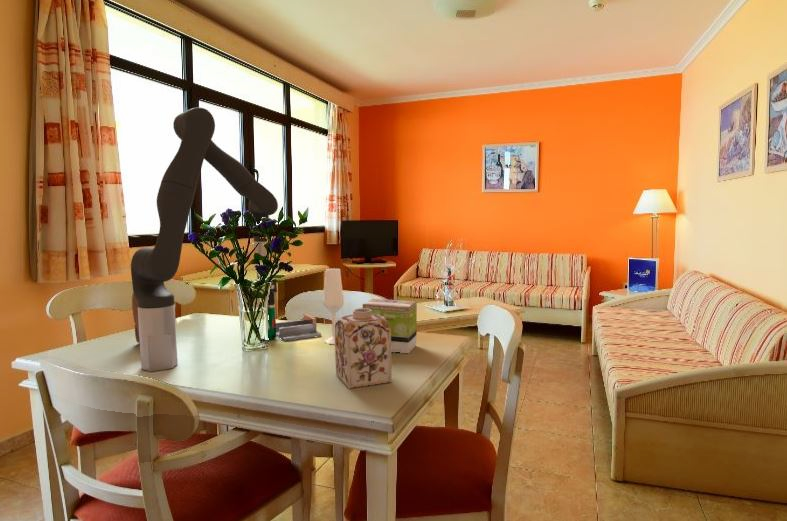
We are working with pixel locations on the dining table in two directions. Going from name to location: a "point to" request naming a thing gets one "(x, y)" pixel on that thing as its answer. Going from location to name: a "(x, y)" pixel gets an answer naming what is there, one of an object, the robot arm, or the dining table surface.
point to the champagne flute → (333, 296)
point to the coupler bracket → (297, 329)
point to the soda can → (271, 322)
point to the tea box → (397, 321)
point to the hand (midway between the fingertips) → (267, 302)
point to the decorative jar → (363, 349)
